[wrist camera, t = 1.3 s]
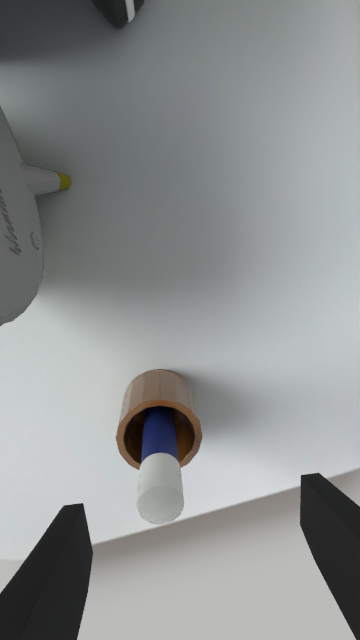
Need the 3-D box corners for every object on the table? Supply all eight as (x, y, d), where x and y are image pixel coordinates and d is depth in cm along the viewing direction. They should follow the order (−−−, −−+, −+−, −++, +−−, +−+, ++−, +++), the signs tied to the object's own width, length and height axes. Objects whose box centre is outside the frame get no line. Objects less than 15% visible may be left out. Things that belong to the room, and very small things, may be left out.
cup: (206, 392, 20) (218, 426, 17) (167, 442, 21) (169, 487, 17) (149, 356, 20) (148, 384, 16) (110, 410, 20) (100, 449, 16)
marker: (179, 400, 20) (193, 499, 12) (162, 422, 20) (166, 531, 13) (155, 385, 20) (154, 477, 12) (138, 408, 20) (127, 512, 12)
